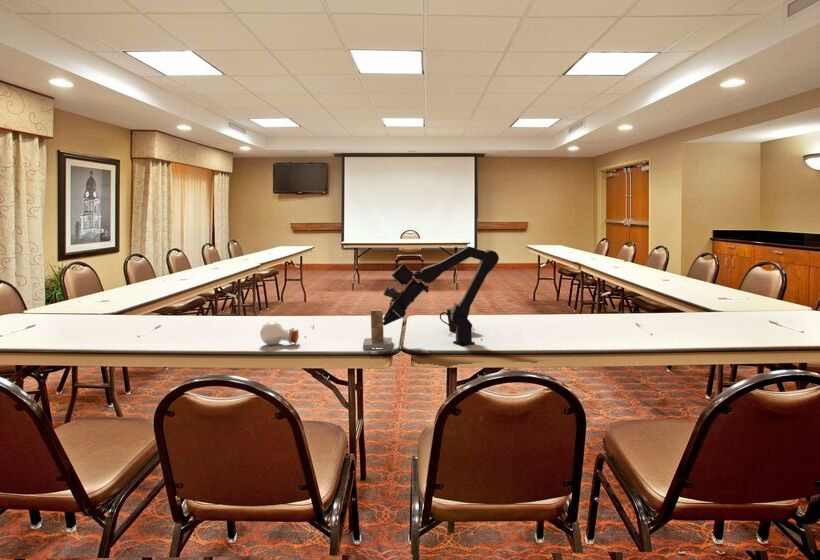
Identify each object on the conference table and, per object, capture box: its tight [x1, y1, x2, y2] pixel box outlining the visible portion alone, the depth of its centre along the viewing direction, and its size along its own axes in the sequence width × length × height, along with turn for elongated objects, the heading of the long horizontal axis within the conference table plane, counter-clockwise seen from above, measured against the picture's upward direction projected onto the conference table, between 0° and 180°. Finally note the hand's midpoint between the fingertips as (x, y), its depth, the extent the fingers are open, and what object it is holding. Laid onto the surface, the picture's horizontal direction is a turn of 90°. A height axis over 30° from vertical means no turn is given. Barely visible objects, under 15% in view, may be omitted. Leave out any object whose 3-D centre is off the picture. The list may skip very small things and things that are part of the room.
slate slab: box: [362, 337, 393, 350], centre depth 208 cm, size 11×11×2 cm
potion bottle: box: [259, 321, 300, 346], centre depth 214 cm, size 9×10×15 cm
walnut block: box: [370, 308, 385, 343], centre depth 207 cm, size 4×4×12 cm
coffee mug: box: [439, 306, 457, 333], centre depth 232 cm, size 12×9×10 cm
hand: (383, 322), depth 207 cm, fingers open, 9 cm apart
